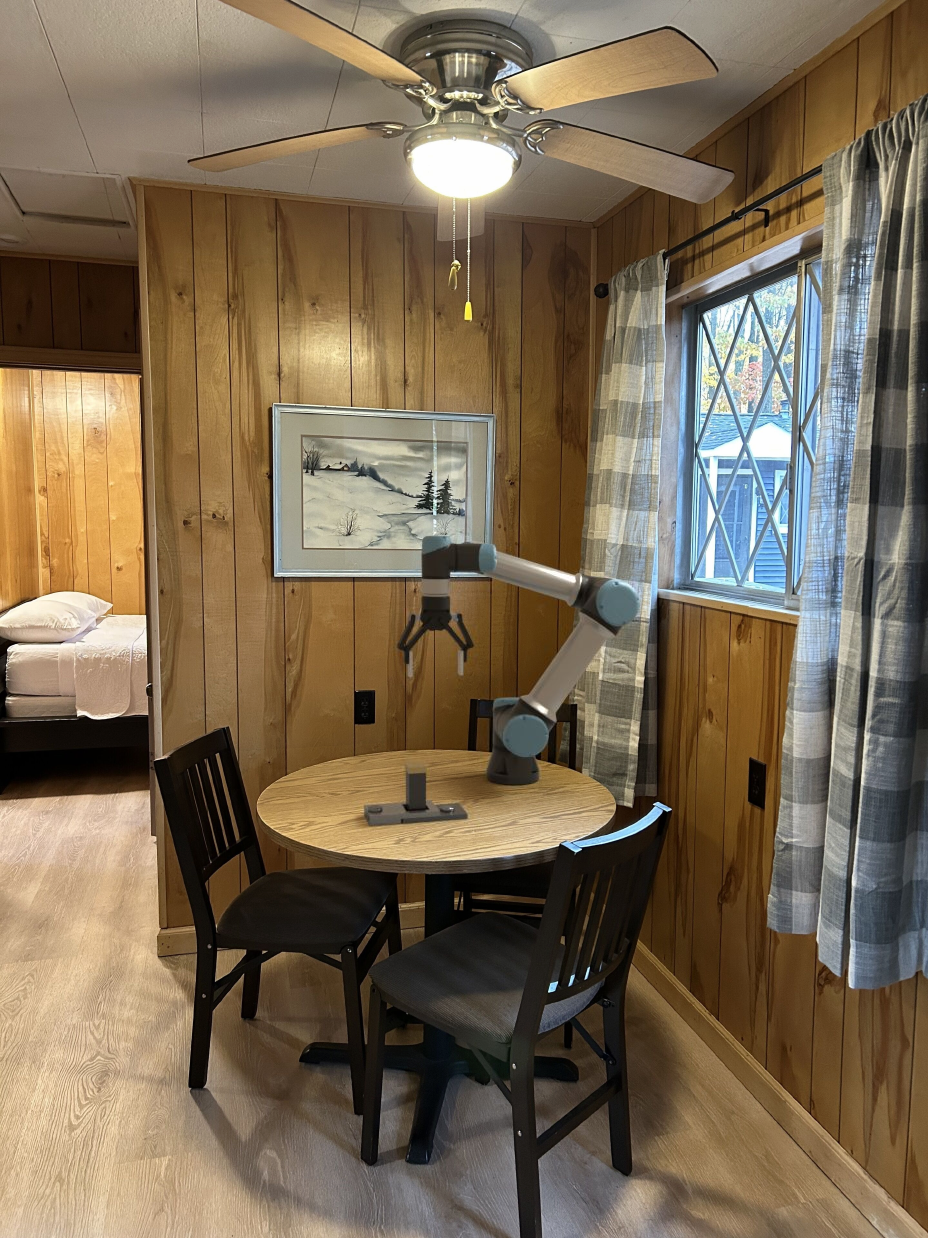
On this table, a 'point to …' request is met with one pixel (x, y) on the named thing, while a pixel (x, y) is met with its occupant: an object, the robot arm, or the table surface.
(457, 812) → the plate
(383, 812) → the plate
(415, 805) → the link pin
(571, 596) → the robot arm
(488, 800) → the table surface
